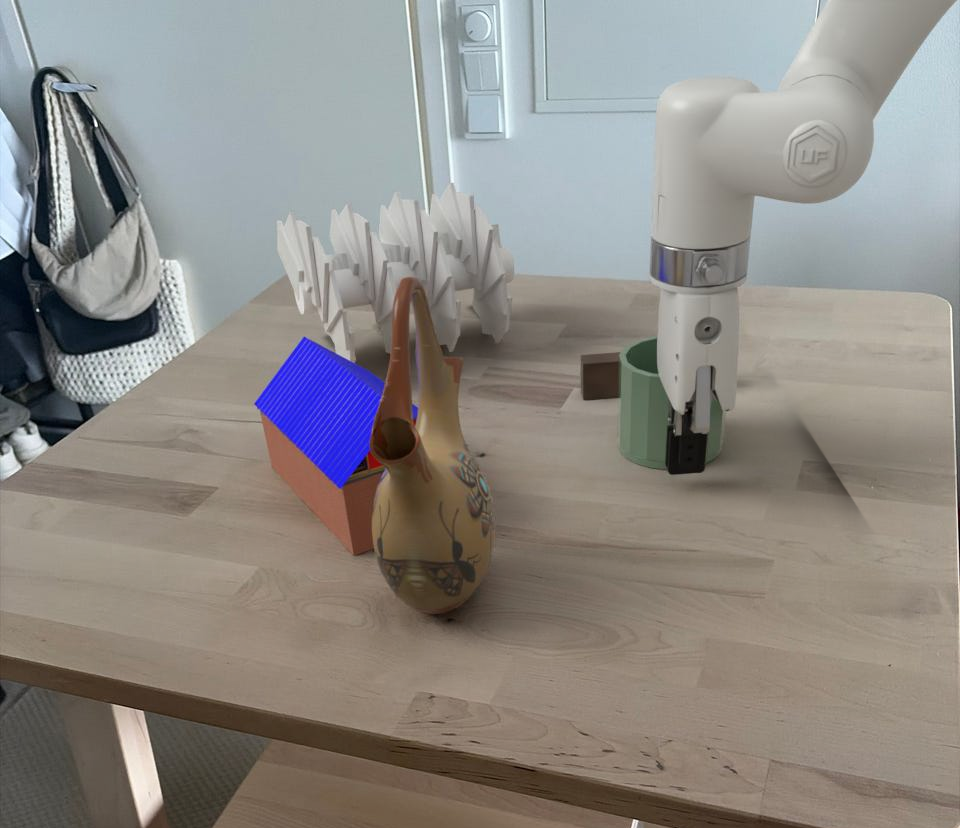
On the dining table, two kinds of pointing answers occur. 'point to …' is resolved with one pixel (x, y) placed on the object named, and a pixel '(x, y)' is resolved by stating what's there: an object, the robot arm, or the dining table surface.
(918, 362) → the dining table surface
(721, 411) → the bucket
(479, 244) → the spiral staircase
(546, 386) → the dining table surface
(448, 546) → the ceramic vessel
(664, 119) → the robot arm
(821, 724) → the dining table surface
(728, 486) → the dining table surface
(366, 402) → the house
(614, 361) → the block
